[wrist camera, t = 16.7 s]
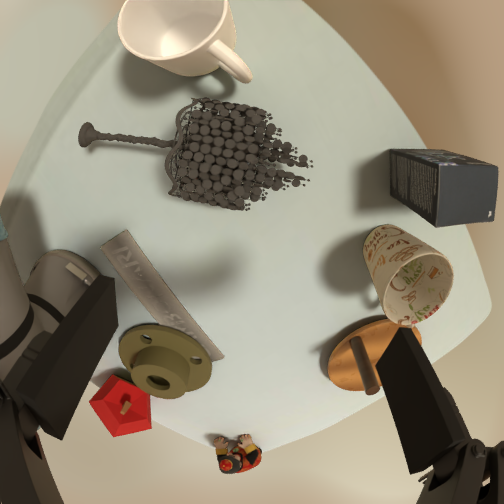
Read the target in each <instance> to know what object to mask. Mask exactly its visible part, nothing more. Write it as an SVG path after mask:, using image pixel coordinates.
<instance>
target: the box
mask: <svg viewBox="0 0 504 504" xmlns="http://www.w3.org/2000/svg"><path fill="white" fill-rule="evenodd" d="M497 188H498V167H497V166H495V165H492V164H489V163H486V162H483V161H480V160H477V159H474V158H471V157H467V156H464V155H460V154H456V153H453V152H449V151H445V150H432V149H390V195H391V196H392V197H394V198H395V199H397V200H398V201H400V202H401V203H403V204H404V205H406V206H407V207H409V208H410V209H411V210H413V211H414V212H416V213H417V214H418V215H420V216H421V217H422V218H424V219H425V220H426V221H428V222H429V223H430V224H432V225H433V226H434V227H436V228H440V227H445V226H452V225H461V224H471V223H483V222H493V221H494V216H495V207H496V198H497Z"/></svg>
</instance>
